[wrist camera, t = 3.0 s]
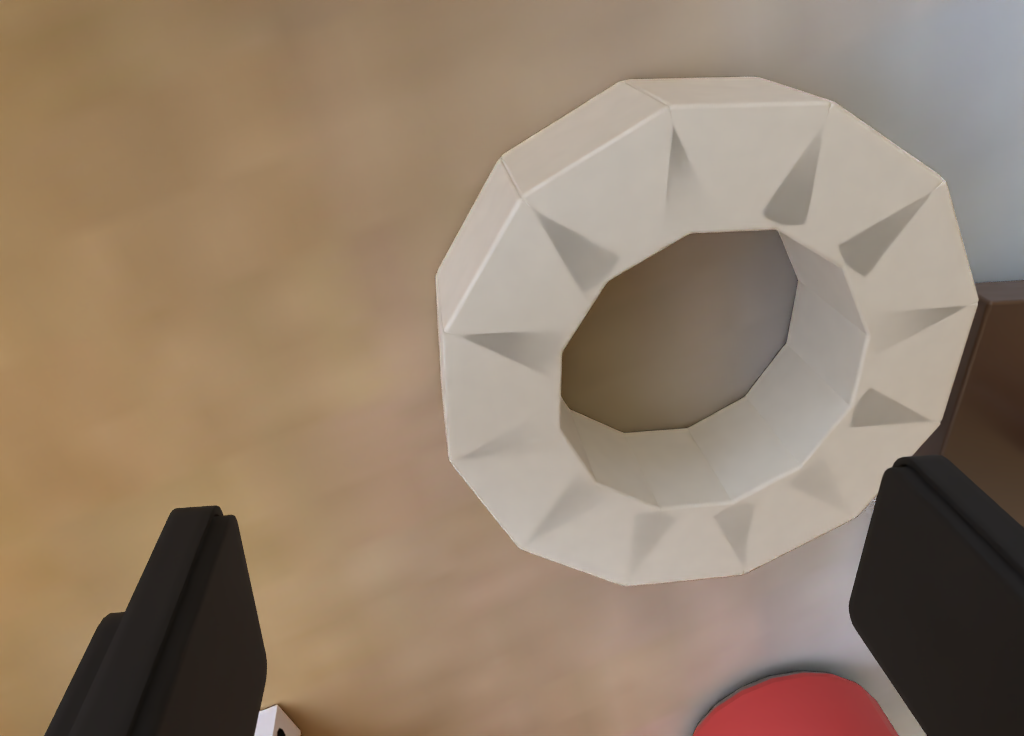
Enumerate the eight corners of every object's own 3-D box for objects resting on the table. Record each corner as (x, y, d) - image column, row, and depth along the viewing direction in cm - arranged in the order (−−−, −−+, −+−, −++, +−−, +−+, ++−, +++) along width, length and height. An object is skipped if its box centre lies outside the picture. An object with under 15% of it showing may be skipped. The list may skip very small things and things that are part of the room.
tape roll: (425, 82, 14) (430, 110, 12) (936, 71, 16) (1046, 94, 13) (448, 517, 19) (455, 605, 17) (835, 484, 20) (899, 560, 18)
